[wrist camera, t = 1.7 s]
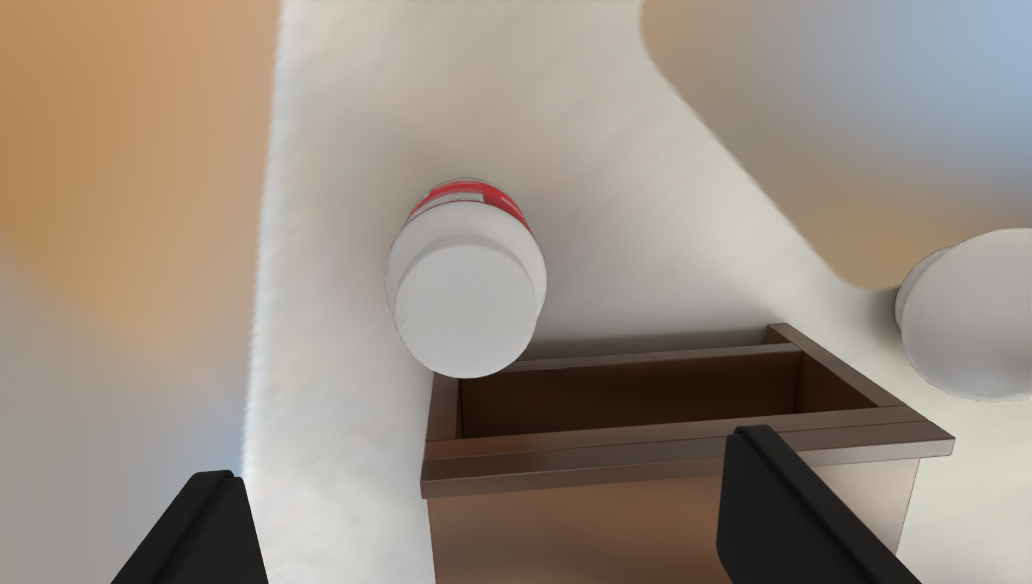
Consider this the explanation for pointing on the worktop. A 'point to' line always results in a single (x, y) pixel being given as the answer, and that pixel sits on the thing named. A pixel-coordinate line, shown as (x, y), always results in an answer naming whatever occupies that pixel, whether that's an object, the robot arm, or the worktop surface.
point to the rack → (647, 458)
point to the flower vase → (972, 317)
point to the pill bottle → (465, 280)
